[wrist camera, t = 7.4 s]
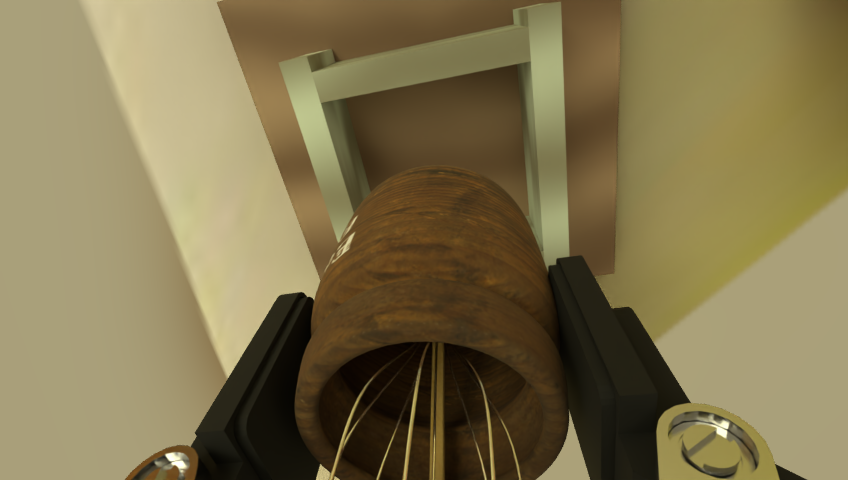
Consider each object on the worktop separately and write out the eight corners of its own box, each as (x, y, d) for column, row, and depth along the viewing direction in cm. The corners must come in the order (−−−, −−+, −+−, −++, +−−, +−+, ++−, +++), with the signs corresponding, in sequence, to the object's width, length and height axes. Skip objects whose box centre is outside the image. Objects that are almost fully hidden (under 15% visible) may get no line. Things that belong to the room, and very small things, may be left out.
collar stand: (231, 2, 20) (165, -1, 16) (611, -89, 18) (670, -126, 13) (336, 295, 29) (313, 352, 24) (605, 260, 26) (641, 315, 22)
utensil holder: (533, 148, 12) (1135, 1115, 1) (527, 320, 15) (711, 1051, 4) (334, 162, 13) (-287, 935, 2) (366, 325, 15) (185, 986, 5)
